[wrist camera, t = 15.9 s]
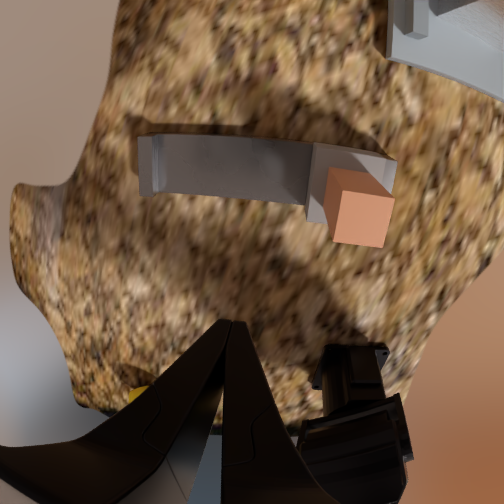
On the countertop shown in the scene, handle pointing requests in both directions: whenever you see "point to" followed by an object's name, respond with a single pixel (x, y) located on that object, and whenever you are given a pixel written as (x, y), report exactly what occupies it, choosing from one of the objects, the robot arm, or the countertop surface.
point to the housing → (476, 19)
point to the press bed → (442, 47)
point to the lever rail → (230, 166)
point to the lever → (349, 194)
